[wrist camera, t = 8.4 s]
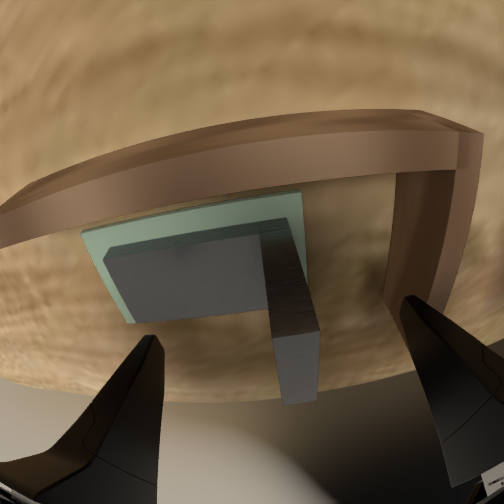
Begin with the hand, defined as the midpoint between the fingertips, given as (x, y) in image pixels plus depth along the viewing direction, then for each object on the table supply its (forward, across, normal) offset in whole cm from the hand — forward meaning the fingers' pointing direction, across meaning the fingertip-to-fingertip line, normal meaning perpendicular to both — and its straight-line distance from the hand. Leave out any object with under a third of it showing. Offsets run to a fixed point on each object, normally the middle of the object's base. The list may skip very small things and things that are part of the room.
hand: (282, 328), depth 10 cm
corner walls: (+4, +2, -1) cm, 5 cm away
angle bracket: (+4, +3, 0) cm, 5 cm away
